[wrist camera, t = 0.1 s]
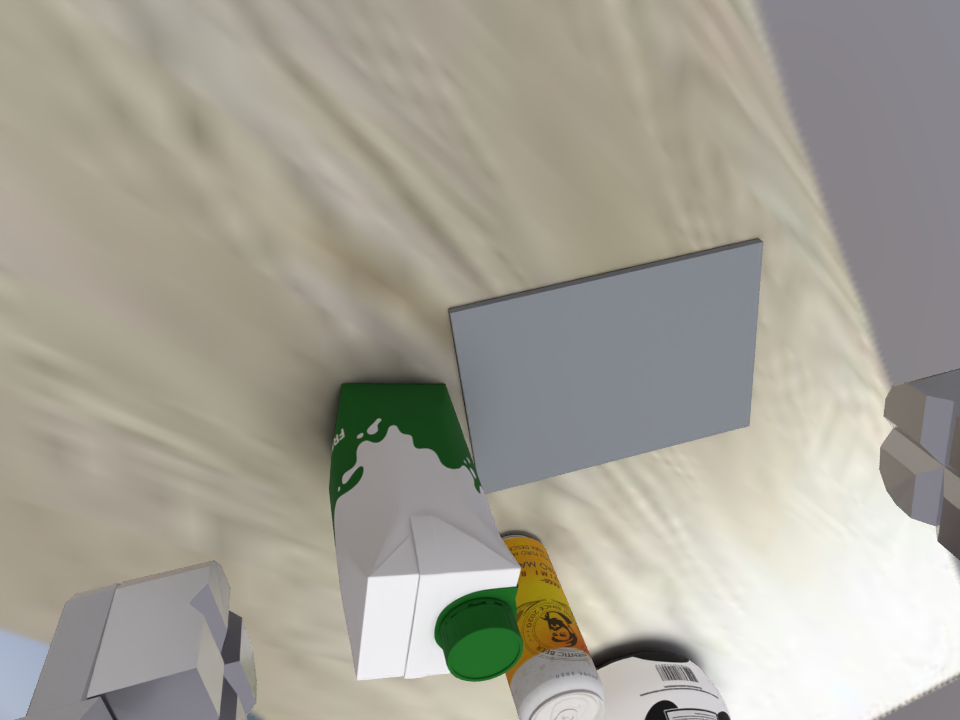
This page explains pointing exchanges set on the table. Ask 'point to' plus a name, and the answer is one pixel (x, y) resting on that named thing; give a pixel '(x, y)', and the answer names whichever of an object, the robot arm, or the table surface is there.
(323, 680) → the table surface
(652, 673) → the milk container
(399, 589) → the white carton
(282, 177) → the table surface
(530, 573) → the beer can
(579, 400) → the mat
